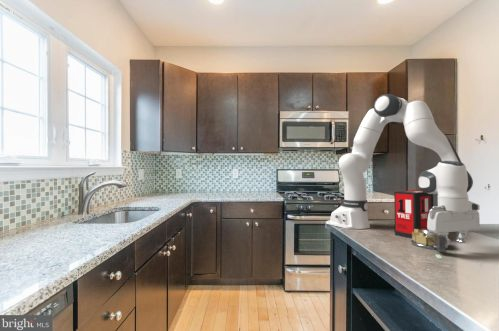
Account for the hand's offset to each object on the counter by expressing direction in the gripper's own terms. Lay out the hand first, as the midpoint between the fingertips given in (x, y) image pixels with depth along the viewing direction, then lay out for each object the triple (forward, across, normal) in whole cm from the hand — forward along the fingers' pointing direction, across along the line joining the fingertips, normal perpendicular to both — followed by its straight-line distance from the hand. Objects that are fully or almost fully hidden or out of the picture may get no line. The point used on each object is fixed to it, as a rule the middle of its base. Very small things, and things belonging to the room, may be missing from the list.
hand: (453, 243), depth 92 cm
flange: (+3, 0, +10) cm, 10 cm away
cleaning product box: (+4, +9, +24) cm, 26 cm away
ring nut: (+2, -2, +6) cm, 7 cm away
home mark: (+3, -10, -2) cm, 10 cm away
